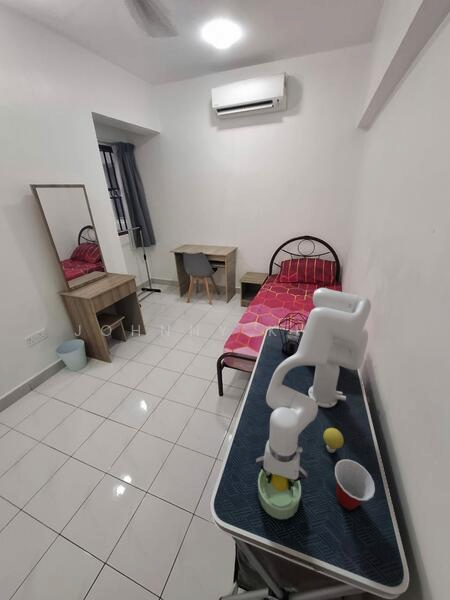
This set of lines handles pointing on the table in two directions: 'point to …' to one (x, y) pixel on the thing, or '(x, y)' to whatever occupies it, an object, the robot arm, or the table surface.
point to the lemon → (279, 482)
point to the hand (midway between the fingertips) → (279, 481)
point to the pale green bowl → (278, 498)
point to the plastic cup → (353, 484)
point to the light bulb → (333, 439)
